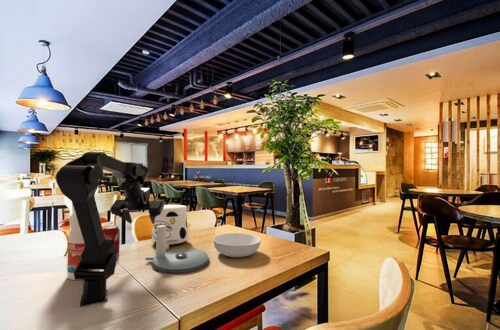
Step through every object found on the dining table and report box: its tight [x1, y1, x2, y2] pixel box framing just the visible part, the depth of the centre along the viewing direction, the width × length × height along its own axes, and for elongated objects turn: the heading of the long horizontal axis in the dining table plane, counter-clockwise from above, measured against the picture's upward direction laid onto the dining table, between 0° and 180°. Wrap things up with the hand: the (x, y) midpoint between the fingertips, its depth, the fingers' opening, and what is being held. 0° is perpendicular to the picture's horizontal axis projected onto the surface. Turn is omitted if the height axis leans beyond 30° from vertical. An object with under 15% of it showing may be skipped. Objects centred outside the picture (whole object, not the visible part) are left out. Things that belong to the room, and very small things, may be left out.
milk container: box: [151, 204, 189, 247], centre depth 126 cm, size 17×17×18 cm
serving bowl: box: [212, 232, 261, 258], centre depth 113 cm, size 21×21×7 cm
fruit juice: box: [66, 193, 102, 281], centre depth 88 cm, size 9×9×28 cm
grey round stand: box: [145, 225, 209, 270], centre depth 101 cm, size 21×23×13 cm
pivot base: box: [150, 242, 210, 275], centre depth 102 cm, size 24×22×5 cm
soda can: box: [102, 224, 121, 255], centre depth 107 cm, size 7×7×12 cm
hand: (142, 222), depth 103 cm, fingers open, 9 cm apart
